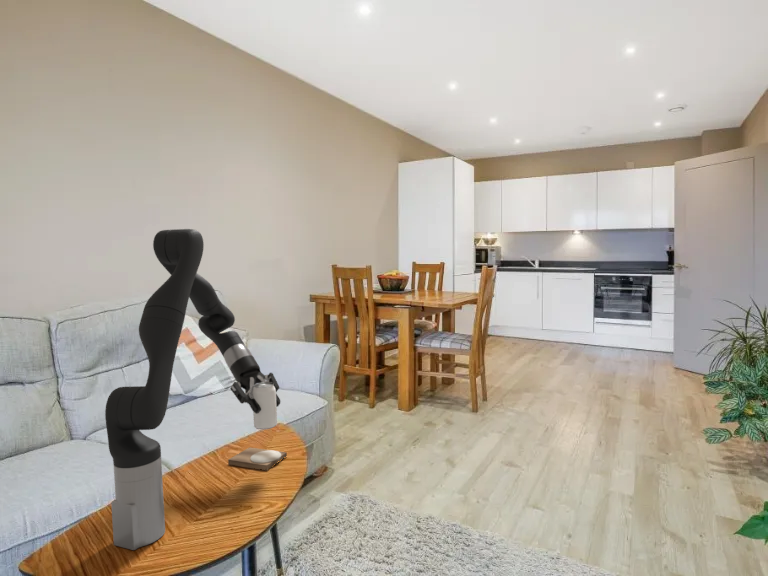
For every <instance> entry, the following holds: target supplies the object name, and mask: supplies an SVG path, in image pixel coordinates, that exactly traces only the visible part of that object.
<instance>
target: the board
mask: <svg viewBox="0 0 768 576" xmlns="http://www.w3.org/2000/svg"><path fill="white" fill-rule="evenodd" d="M286 456H287V457H288V453H287V452H285V451H278V450H274V449H264V448H257V447H247V448H246V449H244V450H243V451H241V452H239V453H237V454H235V455H233V456H232V457H230V458H229V459H228V460H227V462H228V465H229V466H235V467H242V468H248V469H254V468H255V469H254V470H260V469H262V470H261V471H266V470H267V471H269V470H270V469H271V468H270V467H272V466H273V465H274V464H276V463H277V462H278V461H280V460H281V459H283V458H284V457H286ZM287 457H286V458H287ZM283 460H284V459H283ZM276 465H277V464H276ZM273 467H274V466H273ZM273 467H272V468H273ZM269 468H270V469H269ZM268 469H269V470H268Z"/></svg>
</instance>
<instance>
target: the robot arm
mask: <svg viewBox="0 0 768 576" xmlns="http://www.w3.org/2000/svg"><path fill="white" fill-rule="evenodd" d="M152 246H153V247H152V249H153V252H154V254H155V257H156V258H157V260H158V261H159V263H160V264H161V266H163V268H164V269H165V270H166V271H167V272H168V273H169V274H170V275H169V277H168V279H166V281H165V282H163V284H161V286H159V287H158V289H156V290H155V291H154V292H153V293H152V295H151V296H150V297H149V298H148V299H147V301H146V303H145V305H144V307H143V311H142V315H141V318H140V321H139V324H138V334H139V338H140V342H141V344H142V346H143V349H144V351H145V353H146V356H147V359H148V365H149V366H148V368H149V369H148V373H147V374H148V376H147V380H146V384H145V385H143V386H137V385H136V386H135V385H134V386H120V387H119V386H118V387H117V388H114V389H113V390H112V392H111V393H110V394H109V395H108V397H107V400H106V404H105V410H104V412H105V413H104V414H105V415H104V417H105V426H106V434H107V443H108V451H109V453H110V455H111V457H112V461H113V462H112V463H113V464H112V465H113V475H114V476H113V478H114V479H113V480H114V494H115V499H114V500H112V501H111V506H110V507H111V521H112V522H111V523H112V536H113V539H112V540H113V546H116V547H120V548H124V549H128V550H131V551H135V550H137V549H139V548H141V547H144V546H148V545H150V544H153V543H154V542H156V541H158V540H159V539H160V538H162V537H163V535H165V533H166V523H165V521H166V520H165V519H166V517H165V503H164V502H165V501H164V488H163V487H164V483H163V466H162V465H163V464H162V451H161V450H162V449H161V448H162V447H161V445H160V442H159V441H157V440H156V439H154V438H151V437H149V436H147V435H145V434H144V433H143V432H142V431H150V430H155V429H157V428H158V427H160V425H161V424H162V422H163V420H164V418H165V417H166V416H165V415H166V413H167V409H168V404H169V397H170V390H171V383H172V376H173V368H174V363H175V358H176V355H177V350H178V345H179V342H180V337H181V334H182V330H183V326H184V323H185V319H186V312H187V308H188V302H189V300H190V301H191V303H192V305H193V306H194V308H195V310H196V311H197V313H198V314H199V315H200V316H201V317H200V318H199V320H198V322H197V323H198V324H197V325H198V328H199V330H200V331H201V332H202V333H203V335H205V336H206V337H207V338H209V340H211V341H212V343H214V344H215V346H216V347H217V348H218V350H219V351H220V354H221V355H222V356H223V359H224V362H225V364H226V365H227V367H228V369H229V371H230V372H231V374H232V376H233V378H234V379H235V381H234V382H233V383H232V385H231V386H230V390H231V392H232V393H233V395H235V397H236V398H237V400H238V401H239V403H240V404H244V403H245V404H247V405H249V407H250V409H251V410H252V412H255V413H256V414H257V413H259V412H260V411H261V407H260V406H259V404H258V403H257V402H256V400H255V399H254V396H253V388H254V385H255V384H257V383H261V382H272V383H274V387H275V389H276V406H277V407H279V406H280V404H281V402H282V401H281V398H280V397H279V395H278V394H277V393H278V391H279V389H280V386H279V383H278V381H277V379H276V377H275V375H274V373H273V372H269V373H268V374H264V373H262V372H261V368H260V366H259V364H258V362H257V361H256V359H255V357H254V356H253V354H252V352H251V351H250V349H249V348H248V346H246V344H245V342H244V341H243V340H242V338H241V336H240V334H239V333H238V332H237V331H235V330H229V331H226V330H228V329H230V328H231V327H233V326H234V324H235V320H236V319H235V315H234V313H233V312H232V310H231V309H229V308H228V307H227V305H225V304H223V302H222V301H221V300H220V298H219V296H218V294H217V292H216V290H215V288H214V287H213V285H212V284H211V283H210V282H209V281H208V280H207V279H205V277H203V276H201V275H200V274H199V273H198V270H199V267H200V264H201V261H202V259H203V254H204V246H205V245H204V239H203V236H202V234H201V232H200V231H199V230H197V229H192V228H191V229H190V228H184V229H183V228H182V229H181V228H179V229H163V230H159V231H158V232H157V233H156V234H155V235H154V238H153V243H152ZM224 331H225V332H224Z"/></svg>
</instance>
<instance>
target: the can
mask: <svg viewBox="0 0 768 576" xmlns="http://www.w3.org/2000/svg"><path fill="white" fill-rule="evenodd" d="M276 394H277V392H276V389H275V387H274V383H272V382H261V383H257V384H255V385H254V388H253V396H254V399H255V400H256V402H257V403H258V404H259V406H260V407H261V411H260V412H259V413H257V414H256V413H255V412H253V411H252V412H253V413H252V415H253V427H254V428H255V429H256V430H262V431H263V430H269V429H273V428H274V427H276V426H277V425H278V412H277V411H278V409H277V406H276Z"/></svg>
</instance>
